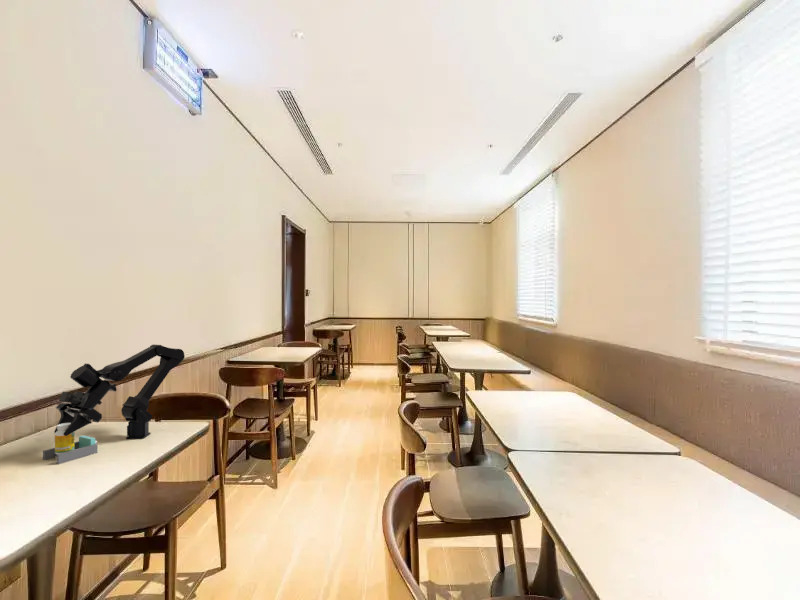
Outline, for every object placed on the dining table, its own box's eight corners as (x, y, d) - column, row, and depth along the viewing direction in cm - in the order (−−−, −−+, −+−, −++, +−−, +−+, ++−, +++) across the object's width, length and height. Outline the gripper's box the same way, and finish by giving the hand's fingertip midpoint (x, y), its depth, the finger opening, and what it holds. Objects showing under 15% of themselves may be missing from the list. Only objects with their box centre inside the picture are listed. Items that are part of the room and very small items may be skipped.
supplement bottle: (54, 451, 151) (54, 423, 151) (74, 448, 154) (73, 421, 154) (55, 456, 147) (54, 427, 147) (75, 452, 150) (74, 424, 150)
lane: (88, 446, 162) (88, 433, 162) (104, 450, 157) (104, 436, 157) (42, 459, 149) (42, 444, 149) (58, 464, 144) (58, 448, 144)
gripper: (61, 380, 158) (25, 418, 148) (91, 384, 150) (55, 425, 140) (86, 397, 165) (52, 435, 155) (116, 402, 157) (82, 442, 147)
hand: (60, 434), depth 149 cm, fingers closed on supplement bottle, 5 cm apart
